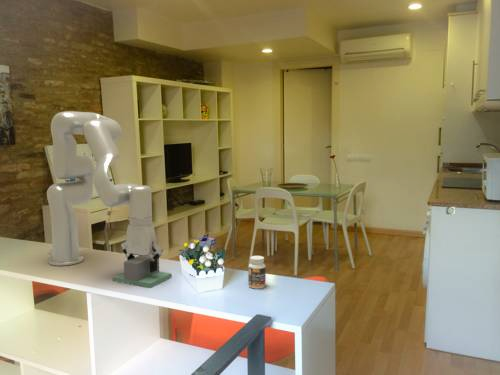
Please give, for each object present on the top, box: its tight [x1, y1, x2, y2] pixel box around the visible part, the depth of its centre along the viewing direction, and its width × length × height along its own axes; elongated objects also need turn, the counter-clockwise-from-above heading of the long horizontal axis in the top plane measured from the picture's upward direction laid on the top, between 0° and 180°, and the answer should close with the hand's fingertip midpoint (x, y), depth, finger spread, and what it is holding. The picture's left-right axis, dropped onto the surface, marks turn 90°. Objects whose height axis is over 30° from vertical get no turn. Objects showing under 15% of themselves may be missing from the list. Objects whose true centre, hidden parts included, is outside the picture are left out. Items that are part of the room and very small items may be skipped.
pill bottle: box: [247, 255, 267, 290], centre depth 147 cm, size 6×6×10 cm
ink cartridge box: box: [190, 233, 217, 252], centre depth 162 cm, size 10×6×14 cm, turn 155°
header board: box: [112, 270, 172, 289], centre depth 154 cm, size 16×12×5 cm
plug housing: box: [123, 255, 160, 281], centre depth 154 cm, size 12×6×6 cm, turn 155°
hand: (142, 269), depth 154 cm, fingers open, 9 cm apart
